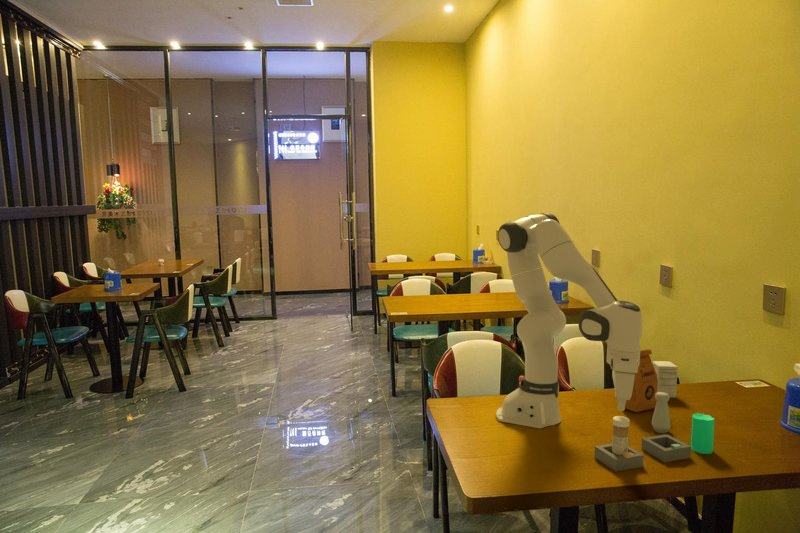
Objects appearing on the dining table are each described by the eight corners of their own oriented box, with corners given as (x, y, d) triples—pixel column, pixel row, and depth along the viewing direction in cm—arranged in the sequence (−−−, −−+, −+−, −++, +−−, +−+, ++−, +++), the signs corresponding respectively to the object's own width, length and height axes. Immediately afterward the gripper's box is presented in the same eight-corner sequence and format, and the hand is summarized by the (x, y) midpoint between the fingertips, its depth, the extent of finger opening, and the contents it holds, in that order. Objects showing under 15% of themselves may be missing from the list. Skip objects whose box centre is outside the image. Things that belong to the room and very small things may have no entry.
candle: (712, 455, 170) (714, 417, 169) (689, 451, 173) (691, 413, 172) (713, 448, 175) (715, 410, 174) (691, 443, 178) (693, 407, 177)
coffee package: (661, 410, 207) (664, 351, 204) (636, 415, 202) (638, 355, 199) (639, 401, 216) (642, 345, 213) (615, 406, 211) (617, 349, 208)
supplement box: (650, 391, 228) (651, 360, 226) (669, 391, 227) (671, 361, 226) (656, 397, 220) (658, 365, 219) (676, 398, 220) (678, 366, 218)
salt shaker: (672, 435, 185) (674, 396, 184) (653, 433, 186) (655, 395, 185) (667, 428, 191) (669, 390, 189) (649, 426, 192) (651, 389, 190)
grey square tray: (664, 462, 166) (665, 448, 165) (641, 449, 175) (642, 435, 174) (690, 457, 169) (691, 443, 168) (666, 444, 178) (667, 431, 177)
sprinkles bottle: (619, 458, 169) (621, 414, 167) (631, 464, 165) (633, 419, 163) (607, 460, 167) (609, 416, 166) (619, 467, 163) (620, 422, 162)
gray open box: (615, 471, 160) (616, 457, 160) (594, 457, 169) (595, 443, 169) (643, 466, 163) (643, 452, 163) (621, 452, 172) (621, 439, 172)
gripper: (609, 347, 174) (606, 390, 176) (613, 366, 154) (610, 415, 156) (631, 349, 172) (627, 393, 174) (638, 369, 152) (634, 418, 154)
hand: (619, 403), depth 165 cm, fingers open, 8 cm apart
